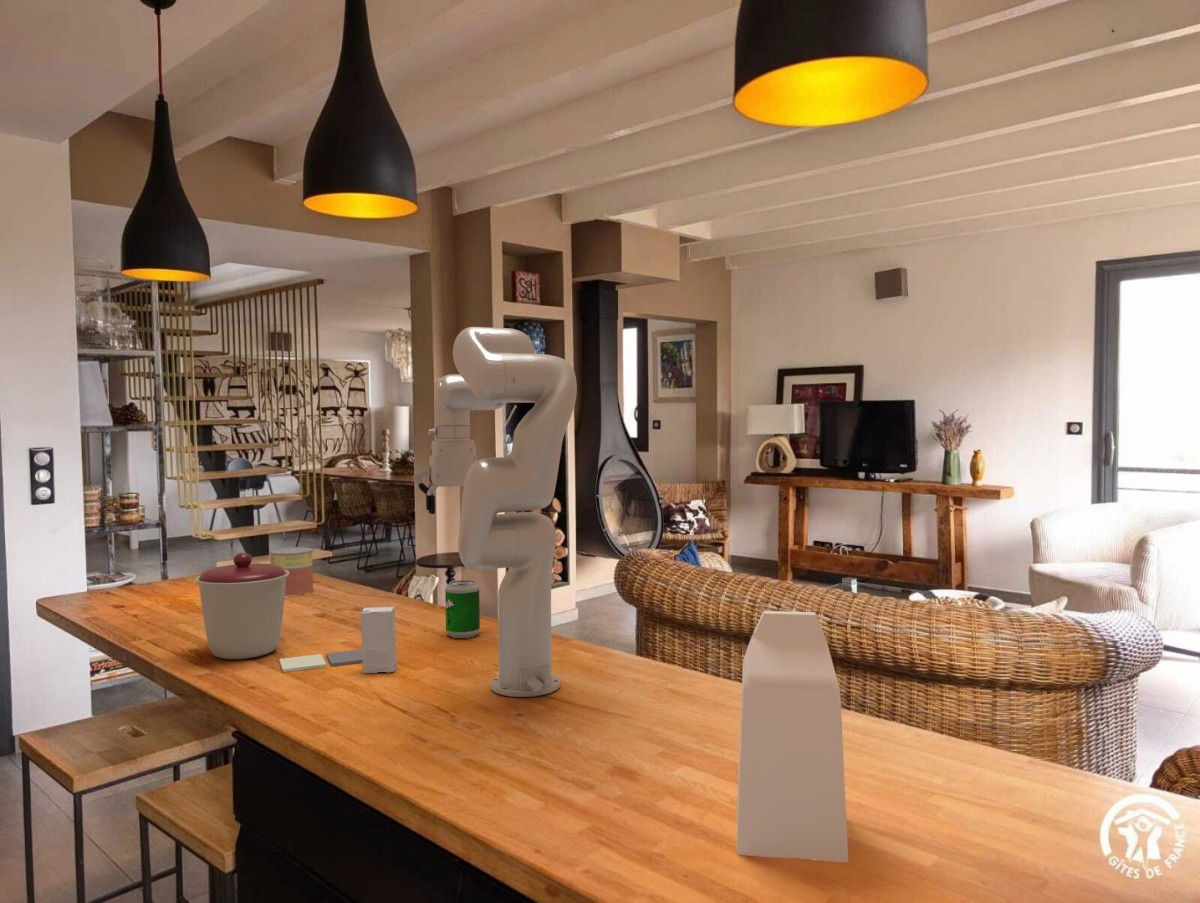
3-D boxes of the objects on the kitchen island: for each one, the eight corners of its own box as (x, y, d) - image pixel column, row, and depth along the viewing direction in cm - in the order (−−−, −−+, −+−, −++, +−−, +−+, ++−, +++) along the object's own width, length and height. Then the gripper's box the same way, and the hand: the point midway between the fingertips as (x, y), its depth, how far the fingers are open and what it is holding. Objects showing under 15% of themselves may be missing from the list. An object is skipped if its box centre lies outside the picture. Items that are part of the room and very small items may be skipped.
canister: (211, 671, 166) (208, 563, 166) (186, 652, 180) (184, 552, 179) (303, 654, 178) (301, 553, 177) (273, 637, 192) (271, 543, 191)
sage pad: (326, 667, 169) (326, 664, 169) (282, 672, 165) (282, 669, 165) (321, 656, 176) (321, 654, 176) (279, 661, 173) (279, 658, 172)
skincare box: (397, 666, 169) (396, 605, 168) (394, 673, 164) (393, 610, 164) (365, 667, 168) (364, 606, 168) (361, 674, 164) (360, 611, 163)
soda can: (483, 631, 196) (482, 579, 195) (475, 640, 188) (474, 585, 188) (451, 631, 197) (450, 579, 196) (441, 639, 189) (441, 585, 189)
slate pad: (372, 661, 172) (372, 658, 172) (331, 666, 169) (331, 663, 169) (365, 651, 180) (365, 648, 180) (326, 656, 176) (326, 653, 176)
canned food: (318, 588, 248) (317, 546, 247) (307, 596, 236) (306, 553, 236) (278, 589, 247) (277, 547, 246) (265, 597, 236) (264, 553, 235)
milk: (736, 854, 96) (737, 623, 94) (736, 808, 107) (736, 600, 106) (848, 862, 94) (849, 626, 93) (836, 814, 105) (837, 603, 104)
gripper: (416, 434, 180) (417, 516, 181) (495, 433, 187) (496, 511, 188) (409, 434, 187) (410, 512, 187) (485, 433, 194) (486, 508, 195)
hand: (453, 512), depth 188 cm, fingers open, 9 cm apart
